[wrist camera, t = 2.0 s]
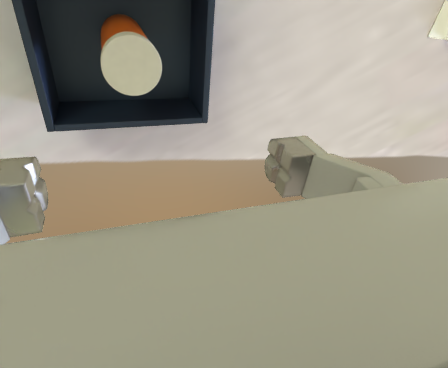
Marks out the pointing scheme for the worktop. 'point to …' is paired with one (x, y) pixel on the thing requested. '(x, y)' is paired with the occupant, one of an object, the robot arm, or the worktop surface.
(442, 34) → the tray
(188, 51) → the basket
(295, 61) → the worktop surface
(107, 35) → the tube
